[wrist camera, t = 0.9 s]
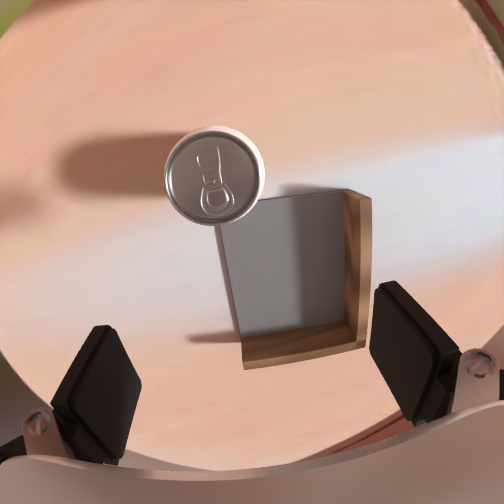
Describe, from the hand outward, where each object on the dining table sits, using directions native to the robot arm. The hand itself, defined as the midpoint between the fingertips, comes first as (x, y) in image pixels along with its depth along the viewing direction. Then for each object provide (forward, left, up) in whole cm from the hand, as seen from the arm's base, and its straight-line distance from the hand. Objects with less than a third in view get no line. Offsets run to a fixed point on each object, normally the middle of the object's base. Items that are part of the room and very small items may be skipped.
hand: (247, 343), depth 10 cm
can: (-5, -1, -21) cm, 22 cm away
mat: (+8, +5, -21) cm, 23 cm away
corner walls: (+8, +5, -21) cm, 23 cm away
